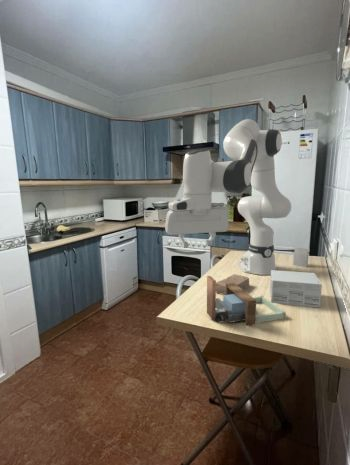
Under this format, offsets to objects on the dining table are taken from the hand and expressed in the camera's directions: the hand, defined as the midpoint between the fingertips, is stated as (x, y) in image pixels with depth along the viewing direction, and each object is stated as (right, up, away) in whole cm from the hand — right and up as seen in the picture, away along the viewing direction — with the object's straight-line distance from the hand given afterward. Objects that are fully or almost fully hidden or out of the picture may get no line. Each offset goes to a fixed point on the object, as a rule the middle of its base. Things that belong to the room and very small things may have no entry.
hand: (197, 246), depth 82 cm
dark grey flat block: (+7, -24, +6) cm, 26 cm away
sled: (+11, -24, +7) cm, 27 cm away
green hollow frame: (+23, -24, +10) cm, 34 cm away
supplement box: (+40, -22, +20) cm, 50 cm away
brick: (+18, -21, +30) cm, 40 cm away
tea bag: (+63, -14, +61) cm, 88 cm away
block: (+15, -24, +8) cm, 29 cm away
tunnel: (+15, -24, +8) cm, 30 cm away
